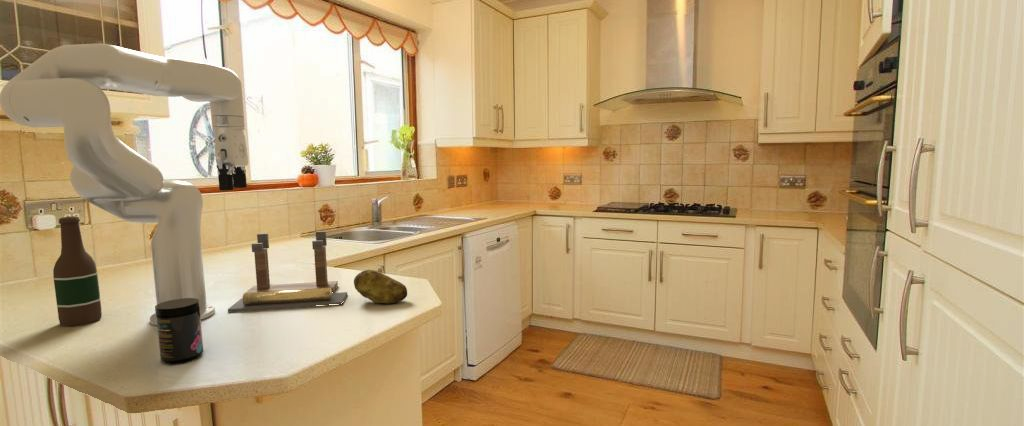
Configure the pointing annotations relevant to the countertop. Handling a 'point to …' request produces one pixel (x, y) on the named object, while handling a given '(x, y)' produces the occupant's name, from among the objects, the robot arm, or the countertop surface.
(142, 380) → the countertop surface
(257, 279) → the hook stand
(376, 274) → the potato
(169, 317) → the supplement container
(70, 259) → the beer bottle
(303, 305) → the mat
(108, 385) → the countertop surface
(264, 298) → the rail
